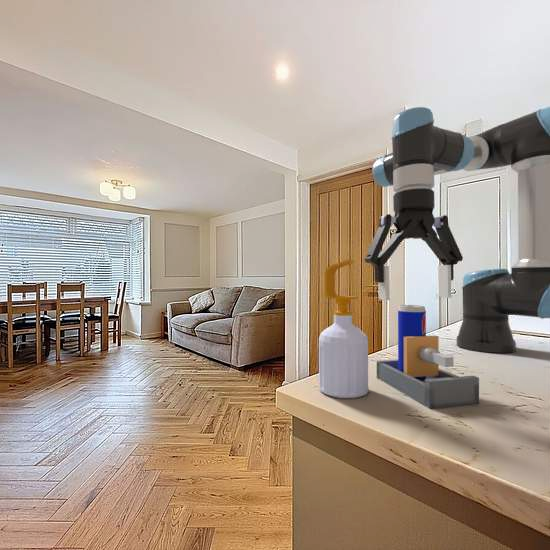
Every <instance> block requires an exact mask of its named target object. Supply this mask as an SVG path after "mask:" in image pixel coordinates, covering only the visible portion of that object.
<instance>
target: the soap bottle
mask: <svg viewBox="0 0 550 550" xmlns="http://www.w3.org/2000/svg"><path fill="white" fill-rule="evenodd" d="M354 262H355V261H354V260H353V259H352V260H351V259H347V260H342V261H341V262H337V263H334V264H332V265H329V266H327V267H326V269H324V270H325V271H324V295H325V297H326V298H328V299H330V300H335V304H338V310H335V311H334V315H333V324H331V325H330V326H328V327H326V328H325V329H324V330H322V332H321V333H320V334H319V337H318V388H319V390H320V392H322V393H323V394H324V395H327V396H329V397H333V398H336V399H337V398H338V399H356V398H357V399H358V398H361V397H363V396H365V395H367V394H368V392H369V339H368V337H367V334H366V333H365V332H363V330H361V329H360V328H358V327H357V326H355V324H353V313H352V311H348V306H349V305H350V304H351V300H356V299H358V296H357V295H356V296H355V295H338V294H336V288H335V287H336V283H335V282H336V281H335V280H336V276H335V275H336V272H337V270H338V269H341V268H343V267H346V266H349V265H352V264H354Z"/></svg>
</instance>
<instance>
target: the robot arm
mask: <svg viewBox="0 0 550 550" xmlns="http://www.w3.org/2000/svg"><path fill="white" fill-rule="evenodd" d="M434 123H435V119H434V114H433V112H432V110H431V109H430V108H428V107H424V106H417V107H416V106H415V107H411V108H408V109H405V110H403V111H401V112H399V113H397V114H396V116H394V118H393V120H392V127H391V128H392V129H391V131H392V132H391V140H392V141H391V142H392V143H391V144H392V147H391V148H392V152H391V153H388V154H384V156H381V157H380V158H378V159H377V160H375V162H374V163H373V165H372V169H371V173H372V177H373V180H374V182H375V183H376V184H377V185H378V186H380V187H383V188H387V187H393V192H395V193H394V194H393V198H392V199H393V200H392V201H393V202H392V203H393V212H394V215H393V216H392V215H391V214H390V213H389V214H385V215H381V216H380V217H379V219H378V220H379V221H378V228H377V230H376V232H375V235H374V237H373V239H372V242H371V243H370V246H369V249H368V251H367V252H366V255H365V258H364V262H365V263H366V264H370V265H371V266H372V267H374V282H375V283H378V300H382V301H390V265H386V264H387V262H388V260H389V259H390V258H391V257H392V256H393V254H394V252H395V251H396V250H397V249H398V247H399V246H400V245H401V243H402V242H403V241H404V240H407V239H408V240H409V239H413V240H416V239H418V240H419V239H421V240H422V241H423V242H425V244H426V245H427V246H428V247H429V248H430V250H431V251H432V253H433V254H434V255H435V257H436V258H437V259H438V260H439V262H440V263H441V265H438V266H437V269H438V272H437V273H438V297H439V298H448V299H450V298H452V281H454V266H455V265H457V264H458V263H459V262H462V261H463V259H464V258H463V255H462V253H461V250H460V248H459V246H458V244H457V241H456V239H455V237H454V234H453V232H452V230H451V228H450V226H449V225H450V224H449V217H448V215H447V214H445V215H440V216H436V217H435V216H434V214H433V211H434V209H435V191H434V190H433V188H434V187H435V176H436V175H437V176H438V175H441V174H447V173H452V172H458V171H460V170H463V171H466V172H473V171H478V170H486V169H495V168H497V169H498V168H503V167H507V166H510V169H511V170H512V171H514V172H515V173H517V244H518V245H517V249H518V250H517V253H518V254H517V255H518V256H517V257H518V258H517V259H518V260H516V262H515V263H514V264H513V265H512V266H511V273H510V272H509V270H508V269H507V268H494V269H484V270H476V271H470V272H467V273H466V274H464V275H463V278H462V285H461V289H462V322H461V325H460V328H459V331H458V335H457V336H456V346H458V347H459V348H463V349H466V350H471V351H478V352H485V353H494V354H495V353H497V354H498V353H501V354H502V353H505V354H506V353H507V354H508V353H513V352H516V351H517V343H516V340H515V339H514V337H513V331H512V329H511V327H510V322H509V321H510V319H509V315H510V316H521V317H529V318H540V319H541V320H543V319H550V106H548V107H545V108H539V109H538V110H536V111H533V112H531V113H529V114H526V115H522V116H520V117H518V118H515V119H513V120H510V121H507V122H506V123H505V122H504V123H502V124H499V125H496V126H495V127H492V128H490V129H487V130H485V131H483V132H481V133H479V134H476V135H471V136H466V135H463V134H462V133H460V132H458V131H457V132H456V131H453V130H449V129H444V128H442V127H441V128H440V127H439V126H436V125H434ZM392 226H394V228H395V230H394V232H393V233H392V234H391V238H390V239H389V240H388V241H387V243H386V244H385V242H386V240H387V237H388V235H389V232H390V230H391V227H392ZM433 227H434V228H435V229H434V228H433ZM384 244H385V245H384ZM383 246H384V247H383Z"/></svg>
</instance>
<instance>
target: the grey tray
mask: <svg viewBox="0 0 550 550" xmlns="http://www.w3.org/2000/svg"><path fill="white" fill-rule="evenodd" d="M376 378H377V379H378V380H381V381H382V382H384V383H385V384H387V385H389V386H391V387H393V388H394V389H395V390H397V391H399V392H401V393H402V394H404V395H405V396H407V397H409V398H411V399H413V400H414V401H416V402H418V403H419V404H421V405H422V406H424V407H426V408H428V409H439V408H450V407H461V406H471V405H480V377H478V376H475V375H465V376H460V375H457V374H454V373H451V372H449V371H447V370H444V369H442V368H439V375H437V376H426V379H425V381H424V382H422V381H420V380H418V379H416V378H413V377H411V376H409V375H407V374H405V373H403V372H401V371H399V370H398V358H396V359H380V360H379V359H378V360H376Z"/></svg>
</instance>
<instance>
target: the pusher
mask: <svg viewBox="0 0 550 550" xmlns="http://www.w3.org/2000/svg"><path fill="white" fill-rule="evenodd" d="M439 341H440V340H439V336H438V335H426V336H410V337H404V373H405V374H407V375H409V376H411V377H423V376H437V375H439V369H440V367H439V366H441V367H443V368H444V367H445V368H451V367H452V368H453V367H454V356H452V355H451V356H450V355H449V354H445V353H441V352H440V351H439Z"/></svg>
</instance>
